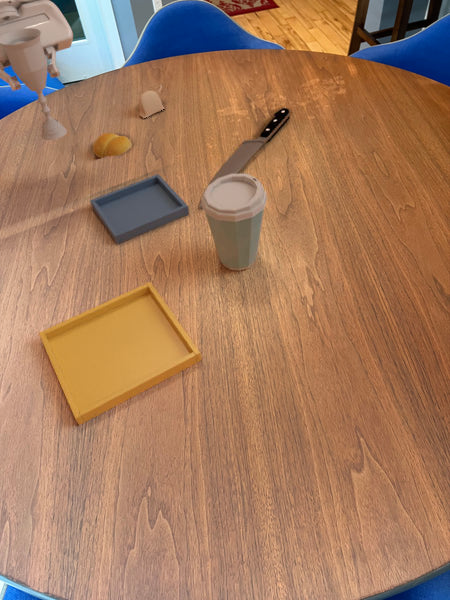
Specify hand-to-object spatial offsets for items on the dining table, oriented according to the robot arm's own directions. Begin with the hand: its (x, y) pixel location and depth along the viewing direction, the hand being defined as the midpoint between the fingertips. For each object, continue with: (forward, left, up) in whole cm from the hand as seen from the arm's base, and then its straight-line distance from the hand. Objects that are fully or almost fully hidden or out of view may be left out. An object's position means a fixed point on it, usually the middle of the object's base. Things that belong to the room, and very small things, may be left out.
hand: (37, 81), depth 87 cm
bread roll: (+12, +8, -23) cm, 28 cm away
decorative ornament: (+28, +20, -23) cm, 42 cm away
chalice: (0, +1, -11) cm, 11 cm away
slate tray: (+8, -16, -23) cm, 29 cm away
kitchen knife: (+36, -13, -23) cm, 45 cm away
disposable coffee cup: (+17, -39, -23) cm, 49 cm away
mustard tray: (-9, -46, -23) cm, 52 cm away
